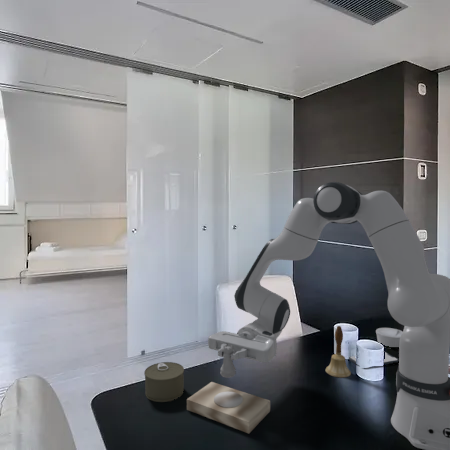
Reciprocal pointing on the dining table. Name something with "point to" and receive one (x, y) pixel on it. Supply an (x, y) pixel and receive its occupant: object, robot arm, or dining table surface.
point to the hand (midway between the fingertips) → (226, 355)
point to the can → (164, 381)
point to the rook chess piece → (227, 363)
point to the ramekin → (389, 336)
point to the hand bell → (338, 358)
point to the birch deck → (229, 406)
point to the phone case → (387, 359)
